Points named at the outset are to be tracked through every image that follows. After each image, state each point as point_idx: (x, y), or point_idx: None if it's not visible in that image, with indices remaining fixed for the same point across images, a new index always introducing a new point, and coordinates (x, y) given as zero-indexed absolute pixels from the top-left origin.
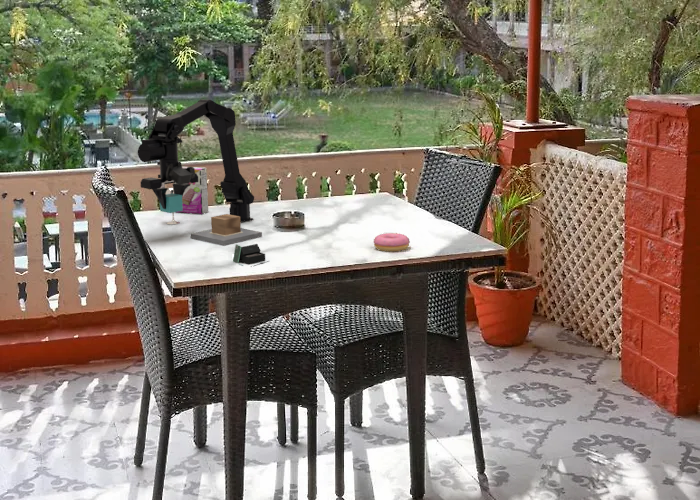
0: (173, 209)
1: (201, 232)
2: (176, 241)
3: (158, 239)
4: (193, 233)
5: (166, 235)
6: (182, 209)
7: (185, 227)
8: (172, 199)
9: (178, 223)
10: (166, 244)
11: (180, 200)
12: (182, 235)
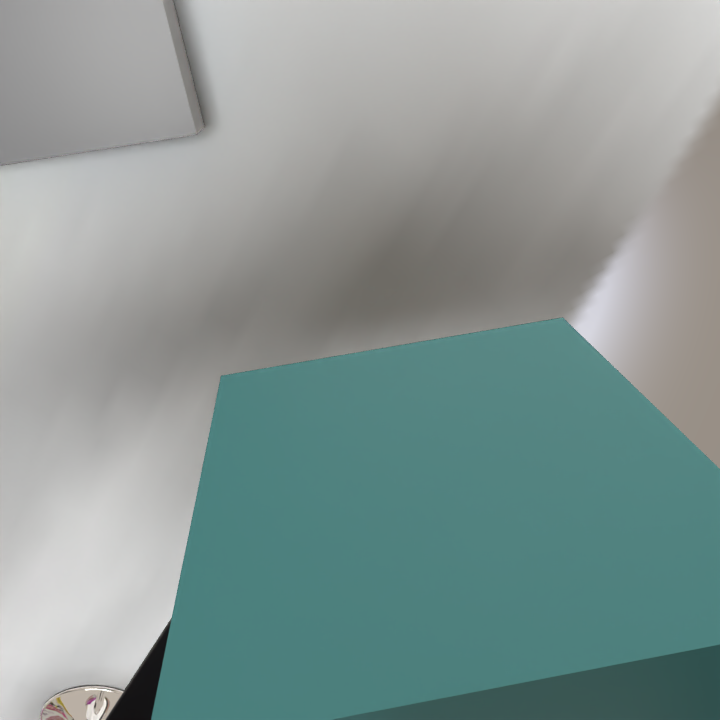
0: (489, 361)
1: (26, 87)
2: (424, 86)
3: (499, 310)
4: (158, 107)
5: None
6: (223, 389)
7: (57, 578)
8: (628, 552)
9: (65, 694)
10: (600, 17)
11: (256, 550)
12: (220, 321)
